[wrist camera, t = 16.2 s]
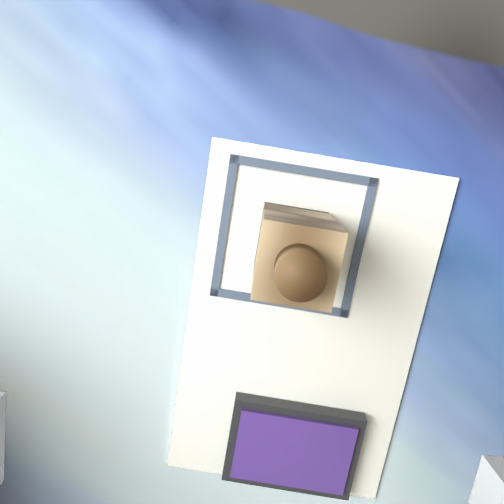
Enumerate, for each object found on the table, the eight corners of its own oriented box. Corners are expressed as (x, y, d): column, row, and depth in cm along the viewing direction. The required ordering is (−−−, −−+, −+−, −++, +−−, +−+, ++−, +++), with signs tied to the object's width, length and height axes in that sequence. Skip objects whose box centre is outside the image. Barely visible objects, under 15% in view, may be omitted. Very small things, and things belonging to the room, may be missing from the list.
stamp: (254, 263, 33) (248, 312, 23) (264, 201, 32) (263, 225, 22) (315, 273, 33) (336, 327, 23) (328, 212, 32) (355, 240, 22)
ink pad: (223, 469, 36) (221, 482, 35) (236, 391, 35) (234, 402, 33) (345, 489, 37) (348, 503, 35) (364, 412, 35) (368, 424, 33)
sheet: (167, 463, 37) (166, 467, 36) (212, 137, 31) (211, 136, 31) (373, 496, 37) (375, 501, 36) (457, 177, 31) (460, 178, 31)
